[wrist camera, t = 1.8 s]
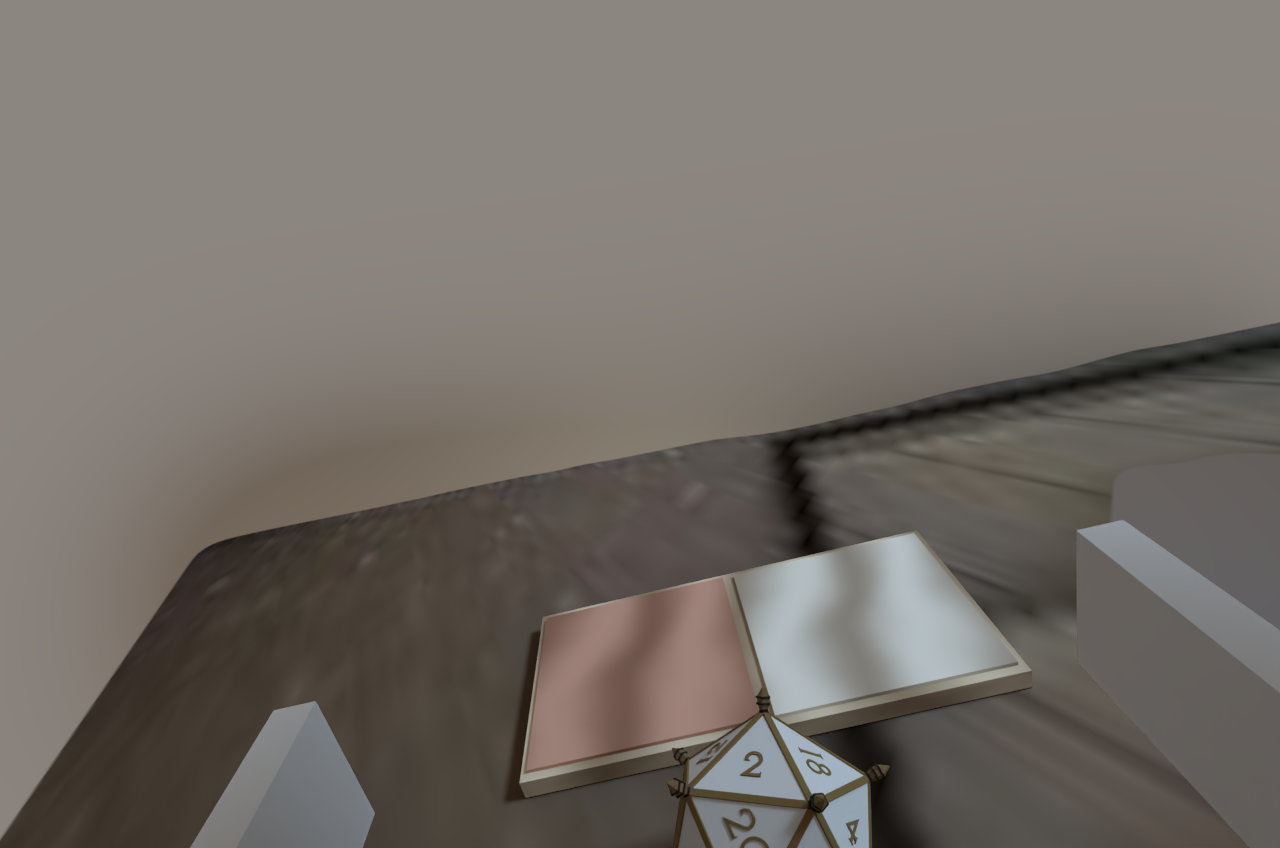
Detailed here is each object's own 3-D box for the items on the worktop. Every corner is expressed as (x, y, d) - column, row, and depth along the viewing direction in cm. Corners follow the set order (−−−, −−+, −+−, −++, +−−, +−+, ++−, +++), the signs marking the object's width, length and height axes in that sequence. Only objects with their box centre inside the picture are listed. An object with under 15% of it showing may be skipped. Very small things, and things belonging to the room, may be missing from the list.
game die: (853, 977, 27) (1006, 962, 20) (641, 1010, 25) (722, 1006, 18) (795, 736, 33) (896, 653, 25) (618, 747, 31) (672, 661, 23)
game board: (917, 543, 45) (916, 527, 44) (1032, 687, 33) (1031, 667, 32) (547, 629, 46) (542, 614, 46) (525, 798, 34) (518, 780, 34)
